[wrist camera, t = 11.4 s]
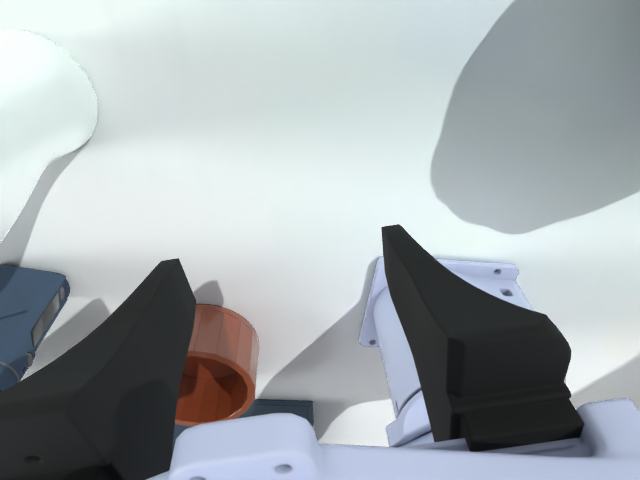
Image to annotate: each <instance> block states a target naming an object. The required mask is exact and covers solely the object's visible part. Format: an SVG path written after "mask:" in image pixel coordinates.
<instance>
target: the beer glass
mask: <svg viewBox="0 0 640 480" xmlns="http://www.w3.org/2000/svg"><path fill="white" fill-rule="evenodd" d="M97 120H98V102H97V97H96V93H95V90H94V87H93V85H92V83H91V81H90V79H89V77H88V75H87V74H86V72H85V71H84V69H83V68H82V67H81V66H80V64H79V63H78V62H77V61H76V60H75V59H74V58H73V57H72V56H71V55H70V54H69V53H68V52H67V51H66V50H64V49H63V48H62V47H60V46H59V45H57V44H56V43H54V42H53V41H51V40H49V39H47V38H45V37H43V36H40V35H38V34H35V33H32V32H28V31H24V30H17V29H1V30H0V244H1V242H2V241H3V239H4V238H5V236H6V235H7V233H8V232H9V230H10V229H11V227H12V226H13V224H14V223H15V221H16V220H17V218H18V217H19V215H20V213H21V211H22V210H23V208H24V206H25V204H26V202H27V201H28V199H29V197H30V195H31V193H32V192H33V190H34V188H35V186H36V184H37V182H38V180H39V178H40V177H41V175H42V173H43V172H44V170H45V168H46V167H47V166H48V165H49V164H50V163H51V162H52V161H54V160H56V159H58V158H60V157H63V156H65V155H67V154H69V153H71V152H73V151H75V150H77V149H78V148H79V147H81V146H82V145H83V144H85V143H86V142H87V141H88V139H89V138H90V137H91V135H92V134H93V132H94V130H95V127H96V124H97Z"/></svg>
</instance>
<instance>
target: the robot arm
mask: <svg viewBox="0 0 640 480" xmlns="http://www.w3.org/2000/svg"><path fill="white" fill-rule="evenodd" d="M382 241H383V255H384V256H382V257H380V258H379V259H378V261H377V265H376V269H375V273H374V277H373V282H372V286H371V290H370V294H369V298H368V302H367V307H366V311H365V315H364V319H363V323H362V327H361V332H360V336H359V343H360V345H362V346H368V347H380V350H381V354H382V359H383V363H384V368H385V372H386V377H387V381H388V386H389V391H390V395H391V400H392V404H393V409H394V413H395V418H396V420H395V421H394V422H392V423H391V424H389V425H387V426H386V432H387V437H388V442H389V447H379V446H360V445H342V444H324V443H318V441H317V439H316V435H315V431H314V428H313V427H312V426H311V424H310V423H309V422H308V421H307V420H306V419H305V418H302V417H300V416H297V415H294V414H292V413H272V414H266V415H259V416H252V417H245V418H238V419H231V420H224V421H217V422H211V423H204V424H199V425H196V426H193V427H190V428H187V429H185V430H184V431H183V432H182V433H181V434H180V435H179V436H178V437H177V438H176V442H175V446H174V451H173V456H172V449H173V437H174V427H175V417H176V409H177V401H178V393H179V387H180V382H181V378H182V373H183V369H184V365H185V361H186V357H187V353H188V349H189V345H190V341H191V336H192V332H193V327H194V320H195V308H196V300H195V297H194V295H193V292H192V290H191V287H190V285H189V283H188V280H187V278H186V275H185V273H184V270H183V268H182V265H181V263H180V261H179V258H178V259H171V260H165V261H161V262H160V263H159V264H158V265H157V266H156V267H155V268H154V270H153V271H152V272H151V273H150V274H149V275H148V276H147V277H146V279H145V280H144V281H143V282H142V283H141V284H140V285H139V286H138V287H137V289H136V290H135V291H134V292H133V293H132V294H131V295H130V296H129V297H128V298H127V299H126V300H125V301H124V302H123V303H122V304H121V305H120V306H119V307H118V308H117V309H116V310H115V311H114V312H113V313H112V314H111V315H110V316H109V317H108V318H107V319H106V320H105V321H104V322H103V323H102V324H101V325H100V326H99V327H97V328H96V329H95V330H94V331H93V332H92V333H90V334H89V335H88V336H87V337H86V338H84V339H83V340H82V341H81V342H79V343H78V344H76V345H75V346H74V347H72V348H71V349H70V350H68V351H67V352H66V353H64V354H63V355H61V356H60V357H59V358H57V359H56V360H54V361H53V362H51V363H50V364H48V365H47V366H45V367H44V368H42V369H40V370H39V371H37V372H35V373H34V374H32V375H31V376H29V377H27V378H25V379H24V380H22V381H20V382H18V383H16V384H15V385H13V386H11V387H9V388H7V389H5V390H4V391H2V392H0V480H640V412H639V411H638V409H637V408H636V406H635V405H634V404H633V402H632V401H631V400H630V399H629V398H619V399H612V400H605V401H598V402H591V403H587V404H584V405H582V406H580V407H579V408H578V409H577V410H575V408H574V406H573V405H572V403H571V401H570V400H569V398H570V397H571V393H570V391H569V389H568V387H567V386H566V373H567V370H568V366H569V363H570V359H571V349H570V346H569V344H568V342H567V341H566V339H565V338H564V336H563V335H562V333H561V332H560V331H559V330H558V328H557V327H556V326H555V325H554V324H553V322H552V321H551V320H550V319H549V318H548V317H547V315H545V314H542V313H539V312H535V310H534V309H533V307H532V306H531V304H530V303H529V301H528V300H527V298H526V297H525V295H524V294H523V292H522V291H521V289H520V288H519V286H518V285H517V283H516V281H515V279H516V277H517V275H518V273H519V270H518V268H517V267H516V266H515V265H513V264H503V263H488V262H474V261H459V260H445V259H435V258H433V257H432V256H431V255H430V254H429V253H428V252H427V251H426V250H424V249H423V248H422V247H421V246H420V245H419V244H418V243H417V242H416V241H415V240H414V239H413V238H412V237H411V236H410V235H409V234H408V233H407V232H406V231H405V229H404V228H403V227H402V226H400V225H399V224H398V225H392V226H385V227H382ZM496 269H498V271H496V272H494V271H495V270H496ZM371 340H374V341H371Z"/></svg>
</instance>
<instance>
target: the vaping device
mask: <svg viewBox="0 0 640 480" xmlns="http://www.w3.org/2000/svg"><path fill="white" fill-rule="evenodd" d="M65 278H66V277H65V276H64V275H62V274H59V273H54V272H48V271H41V270H35V269H28V268H22V267H15V266H9V265H1V264H0V392H2V391H4V390H5V389H7V388H9V387H11V386H13V385H15V384H16V383H18V382H20V380H21V378H22V377H23V375H24V374H25V372H26V370H27V369H28V367H30V366H31V365H32V361H33V359H34V357H35V351H36V349H37V348H38V346H39V345H40V343H41V341H42V340H43V338H44V337H45V335H46V333H47V332H48V330H49V329H50V327H51V325H52V324H53V322H54V320H55V319H56V317H57V316H58V314H59V312H60V311H61V309H62V308H63V306H64V304H65V303H66V301H67V300H68V299H66V298H67V297H68V295H69V293H70V287H69V283H68V281H67V280H66V279H65Z"/></svg>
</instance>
